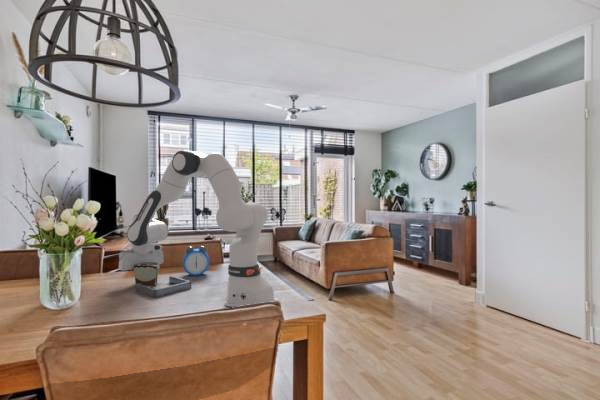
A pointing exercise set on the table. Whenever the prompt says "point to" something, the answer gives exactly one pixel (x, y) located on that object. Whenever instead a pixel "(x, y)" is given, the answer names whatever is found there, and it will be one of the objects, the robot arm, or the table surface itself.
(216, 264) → the table surface
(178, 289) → the metal dock
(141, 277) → the food container
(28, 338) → the table surface
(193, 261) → the alarm clock
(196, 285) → the table surface
